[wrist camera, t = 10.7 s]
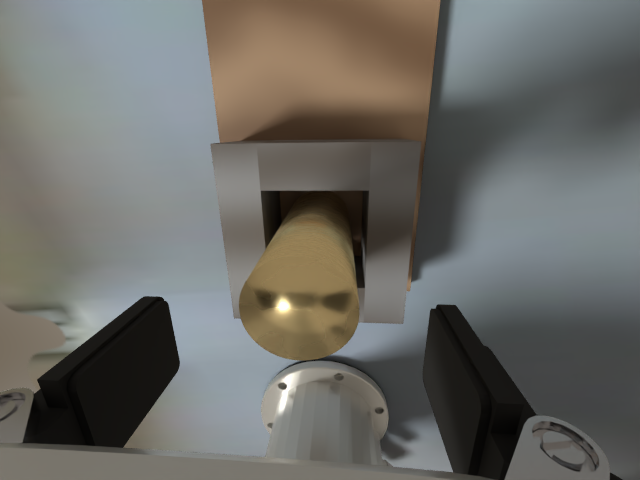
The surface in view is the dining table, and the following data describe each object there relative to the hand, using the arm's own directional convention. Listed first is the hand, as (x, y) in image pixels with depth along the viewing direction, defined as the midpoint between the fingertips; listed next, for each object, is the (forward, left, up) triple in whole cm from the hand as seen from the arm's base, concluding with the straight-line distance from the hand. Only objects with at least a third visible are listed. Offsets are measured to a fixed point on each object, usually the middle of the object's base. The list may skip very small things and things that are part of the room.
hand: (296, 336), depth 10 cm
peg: (+1, 0, -13) cm, 13 cm away
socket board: (+4, -4, -14) cm, 15 cm away
